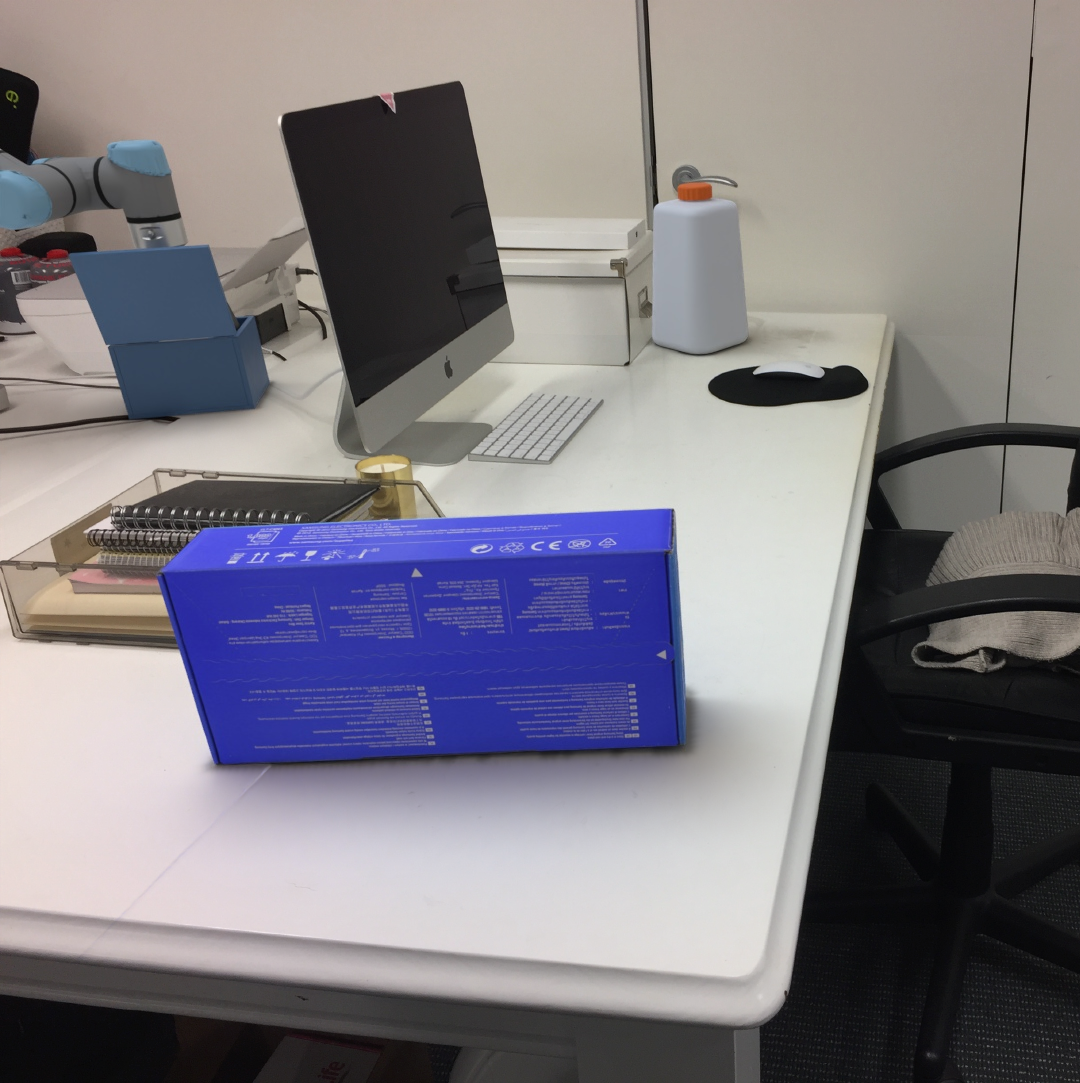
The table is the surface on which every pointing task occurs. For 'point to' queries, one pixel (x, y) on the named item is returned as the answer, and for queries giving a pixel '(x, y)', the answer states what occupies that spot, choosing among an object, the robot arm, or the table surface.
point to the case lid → (154, 294)
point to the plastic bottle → (697, 273)
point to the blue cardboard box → (432, 635)
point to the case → (192, 374)
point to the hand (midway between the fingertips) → (199, 388)
